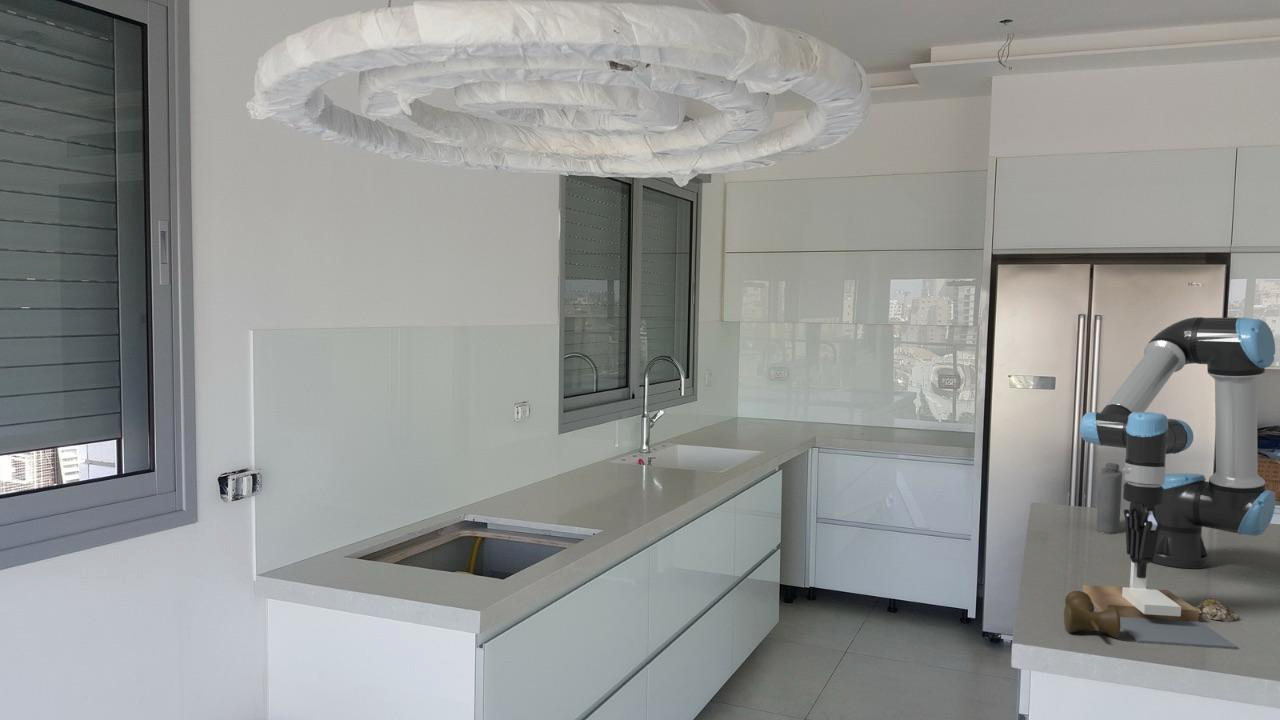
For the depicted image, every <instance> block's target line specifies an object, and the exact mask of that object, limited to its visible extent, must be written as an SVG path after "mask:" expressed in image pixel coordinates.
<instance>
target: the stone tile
mask: <svg viewBox="0 0 1280 720" xmlns="http://www.w3.org/2000/svg"><path fill="white" fill-rule="evenodd" d="M1122 587H1123V586H1122ZM1125 587H1126V586H1125ZM1125 587H1123V590H1122V597H1124V598H1125V599H1126V600H1127V601H1129V602H1130V603H1131V604H1132V605H1133V606H1135V607H1136V608H1137V609H1138V610H1140V611H1141V612H1142V613H1143V614H1151V615H1166V616H1181V606H1179V605H1178V604H1177V603H1175V602H1174V601H1172V600H1171V599H1170V598H1168V597H1167V596H1165V595H1164V594H1163V593H1161V592H1160V591H1158V590H1157V589H1158V588H1157V589H1154V588H1146V589H1141V588H1130V587H1126V588H1125Z"/></svg>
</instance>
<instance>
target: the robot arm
mask: <svg viewBox="0 0 1280 720" xmlns="http://www.w3.org/2000/svg"><path fill="white" fill-rule="evenodd" d="M1275 355H1276V343H1275V338H1274V334H1273V331H1272V329H1271V327H1270V326H1269V324H1268V323H1267V322H1266V321H1264V320H1262V319H1260V318H1248V317H1244V316H1243V317H1202V316H1201V317H1199V316H1197V317H1194V316H1193V317H1189V318H1185V319H1182V320H1179V321H1176V322H1175V323H1173V324H1171V325H1169V326H1167V327H1166V328H1164V329H1162V330H1161V331H1159V332H1158V333H1157V334H1156V335H1155V336H1153V338H1151V339H1150V341H1149V342H1148V343H1147V345H1145V348H1144V350H1143V357H1142V358H1141V360H1139V362H1138V364H1137V365H1136V366H1135V367H1134V369H1133V370H1132V371H1131V372H1130V374H1129V375H1128V377H1127V378H1126V379H1125V381H1124V382H1123V383H1122V384H1121V386H1120V387H1119V388H1118V389H1117V390H1116V392H1115V393H1114V395H1113V396H1112V397H1111V398H1110V400H1109V402H1108V403H1107V404H1106V405H1105V406H1104V407H1103V409H1102V410H1101V412H1098V411H1093V412H1092V411H1090V412H1089V411H1088V412H1086V413H1085V414H1084V415H1083V416H1082V418H1081V420H1080V425H1079V433H1080V436H1081V438H1082V440H1083V441H1084V442H1086V443H1088V444H1093V445H1099V446H1102V447H1103V446H1104V447H1113V448H1121V449H1122V448H1123V449H1125V462H1124V464H1125V466H1124V467H1123V468H1122V472H1124V480H1125V481H1126V482H1125V483H1123V493H1122V495H1123V496H1122V497H1123V500H1125V501H1127V502H1129V509H1123V516H1124V520H1125V542H1126V544H1125V545H1126V547H1125V548H1126V555H1128V556H1129V558H1130V561H1131V562H1130V577H1129V578H1130V579H1129V588H1141V589H1147V579H1148V577H1147V576H1148V564H1150V563H1151V564H1153V563H1154V564H1158V565H1163V566H1167V567H1172V568H1181V569H1204V568H1207V567H1208V566H1209V565H1208V564H1209V556H1208V555H1209V554H1208V552H1207V549H1206V546H1205V542H1204V540H1203V535H1202V533H1203V531H1202V529H1203V528H1207V529H1213V530H1220V531H1224V532H1229V533H1234V534H1237V535H1246V536H1254V537H1256V536H1257V537H1258V536H1260V535H1262V534H1263V533H1264V532H1265V531H1266V530H1267V529H1268V528H1269V526H1270V524H1271V521H1272V519H1273V517H1274V513H1275V509H1276V495H1275V493H1274V492H1273V491H1271V490H1270V489H1266V480H1265V479H1264V478H1262V476H1260V475H1259V473H1258V380H1259V379H1260V378H1262V376H1263V375H1264V374H1265V373H1266V371H1265V369H1266V368H1270V366H1272V365H1273V364H1274V363H1273V362H1274V361H1275ZM1191 364H1196V365H1197V364H1198V365H1199V364H1200V365H1207V374H1208V375H1209V376H1210V377H1212V378H1213V379H1214V407H1215V409H1214V413H1215V414H1214V416H1215V418H1214V419H1215V420H1214V422H1215V426H1214V427H1215V428H1214V430H1215V431H1214V432H1215V472H1214V473H1213V474H1212V475H1210V476H1209V478H1208V481H1206V480H1207V479H1206V477H1205V475H1204V474H1200V473H1190V472H1189V473H1187V472H1186V473H1184V472H1183V473H1178V472H1177V473H1173V472H1172V473H1166V457H1167V455H1170V454H1174V455H1175V454H1179V453H1181V452H1183V451H1186V450H1188V449H1189V448H1190V447H1191V445H1192V444H1193V441H1194V433H1193V432H1194V431H1193V429H1192V428H1191V426H1190V425H1189V424H1188V423H1187V422H1185V421H1184V420H1181V419H1177V418H1175V419H1174V418H1168V417H1167V416H1166V415H1165V414H1164V413H1159V412H1150V411H1149V412H1148V411H1146V410H1147V409H1148V408H1149V406H1150V405H1151V404H1152V402H1153V401H1154V399H1155V398H1156V397H1157V395H1158V394H1159V393H1160V391H1162V388H1163V387H1164V386H1165V385H1166V383H1167V382H1168V381H1169V380H1170V378H1171V377H1172V375H1173V374H1174V373H1177V372H1180V371H1181V370H1182V369H1183V368H1184V367H1185V366H1186V365H1191Z"/></svg>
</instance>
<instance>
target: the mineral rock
mask: <svg viewBox="0 0 1280 720" xmlns="http://www.w3.org/2000/svg"><path fill="white" fill-rule="evenodd" d="M1193 607H1194V606H1193ZM1194 608H1196V609H1197V610H1199V617H1202V616H1203V617H1202V618H1205V617H1206V619H1208V620H1213V619H1214V621H1215V620H1216V621H1218V620H1219V621H1222V622H1224V621H1225V622H1224V623H1229V621H1230V622H1231V621H1232V622H1235V621H1238V619H1239V617H1240V616H1239V615H1237V614H1236V612H1235V611H1234V610H1232V608H1228V607H1227V606H1224V605H1223V604H1222V603H1221V602H1220V600H1219V599H1215V598H1211V597H1207V598H1205V599H1203V600H1202V601H1201V602H1200V604H1199V605H1198V606H1195V607H1194Z"/></svg>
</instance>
